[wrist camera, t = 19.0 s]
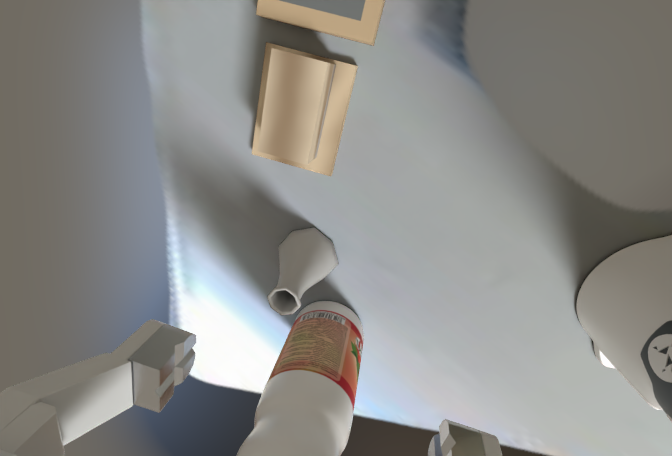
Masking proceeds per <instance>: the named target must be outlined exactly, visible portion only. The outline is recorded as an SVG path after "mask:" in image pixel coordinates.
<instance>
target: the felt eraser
mask: <svg viewBox="0 0 672 456" xmlns="http://www.w3.org/2000/svg"><path fill="white" fill-rule="evenodd" d="M335 68H336V65H335V64H331V63H328V62H324V61H320V60H316V59H312V58H308V57H305V56H301V55H297V54H293V53H289V52H285V51H282V50H278V49H274V48H272V49H271V56H270V64H269V71H268V78H267V86H266V93H265V100H264V108H263V115H262V122H261V130H260V137H259V144H258V151H259V152H262V153H266V154H270V155H273V156H277V157H280V158H284V159H287V160H291V161H294V162H298V163H301V164H305V165H308V164H309V163H310V162H311V161H312V160H314V159H315V158H316V157H317V153H318V148H319V144H320V139H321V134H322V129H323V125H324V120H325V115H326V111H327V106H328V101H329V96H330V92H331V87H332V82H333V78H334V73H335Z"/></svg>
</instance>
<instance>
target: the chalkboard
mask: <svg viewBox="0 0 672 456" xmlns="http://www.w3.org/2000/svg"><path fill="white" fill-rule="evenodd" d="M384 3H385V0H258V3H257V12H256V15H259V16H261V17H263V18H267V19H271V20H275V21H279V22H283V23H287V24H291V25H294V26H298V27H302V28H306V29H310V30H314V31H318V32H322V33H326V34H330V35H333V36H337V37H341V38H345V39H349V40H353V41H357V42H361V43H365V44H369V45H372V46H374V43H375V39H376V35H377V31H378V27H379V23H380V19H381V15H382V11H383V7H384Z"/></svg>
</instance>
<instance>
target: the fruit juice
mask: <svg viewBox="0 0 672 456" xmlns="http://www.w3.org/2000/svg"><path fill="white" fill-rule="evenodd" d="M363 341H364V332H363V327H362V324H361V322H360V320H359V318H358V317H357V315H356V314H355V313H354V312H353V311H352V310H351V309H349V308H348V307H346V306H344V305H342V304H340V303H337V302H333V301H318V302H314V303H312V304H309V305H308V306H306V307H305V308H304V309H303V310H301V312H300V313H299V314H298V316H297V317H296V319H295V321H294V324H293V326H292V328H291V330H290V333H289V335H288V337H287V339H286V342H285V344H284V346H283V348H282V351H281V353H280V355H279V357H278V360H277V362H276V364H275V366H274V369H273V371H272V373H271V375H270V378H269V380H268V382H267V384H266V386H265V388H264V390H263V393H262V395H261V398H260V401H259V404H258V407H257V410H256V415H255V428H254V430H253V431H252V432H251V434H250V435H249V436H248V437H247V439H246V440H245V441H244V443H243V444H242V446H241V448H240V450H239V451H238V454H237V456H340V455H341V453H342V452H343V450H344V448H345V446H346V444H347V441H348V438H349V434H350V429H351V424H352V419H353V410H354V403H355V396H356V389H357V382H358V376H359V369H360V362H361V355H362V348H363Z"/></svg>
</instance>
